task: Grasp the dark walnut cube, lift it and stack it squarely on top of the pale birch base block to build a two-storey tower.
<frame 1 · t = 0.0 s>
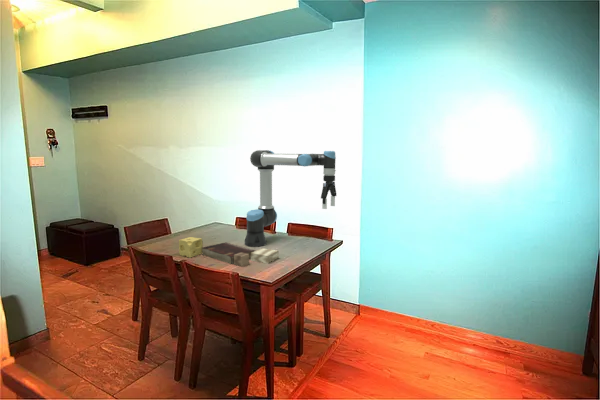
hand: (328, 207, 231), 28 cm above the table, fingers open, 13 cm apart
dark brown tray: (228, 256, 218), on the table
walnut cube: (241, 264, 202), on the table
cheese: (190, 254, 220), on the table
birch block: (264, 259, 211), on the table
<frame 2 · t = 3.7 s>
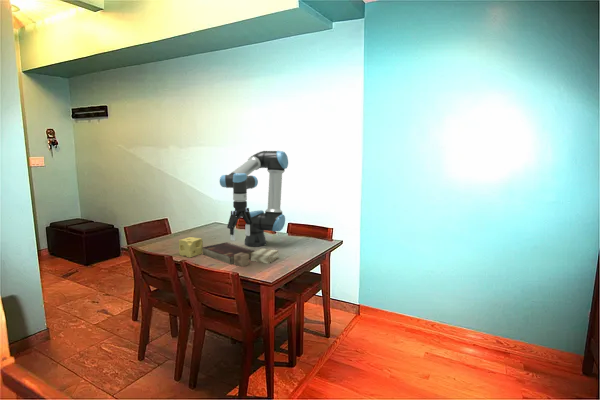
hand: (240, 237, 200), 15 cm above the table, fingers open, 13 cm apart
nothing on the table moved.
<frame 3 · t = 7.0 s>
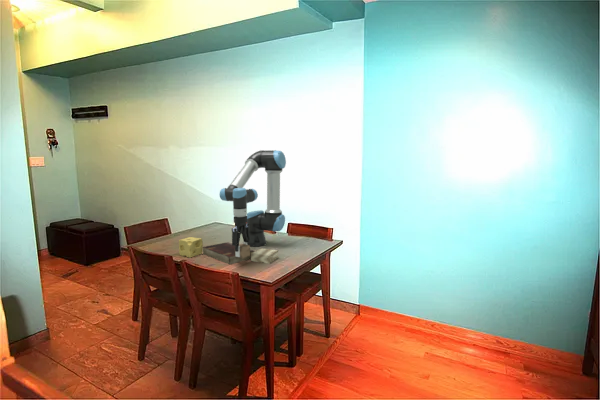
hand: (241, 254, 202), 5 cm above the table, fingers closed on walnut cube, 6 cm apart
walnut cube: (242, 255, 202), point 5 cm above the table, touching gripper
everything else where it was.
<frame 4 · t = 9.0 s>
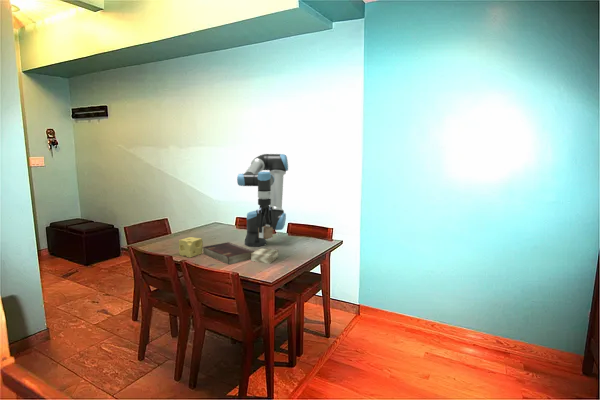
hand: (264, 236, 209), 14 cm above the table, fingers closed on walnut cube, 6 cm apart
walnut cube: (265, 237, 209), point 14 cm above the table, touching gripper
everything else where it was.
when the fingers open (5 cm above the table, at t = 11.2 s): walnut cube stays where it is, point 5 cm above the table.
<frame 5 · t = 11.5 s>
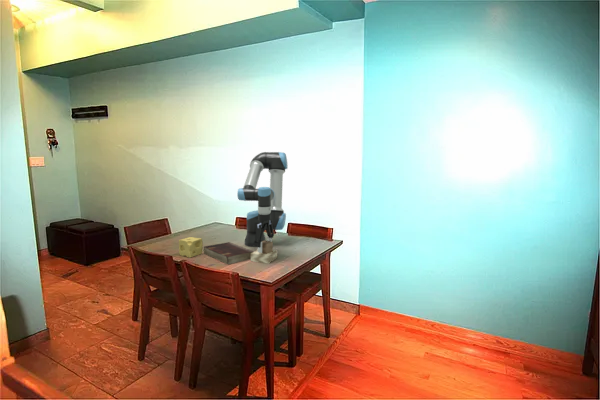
hand: (264, 250, 210), 6 cm above the table, fingers open, 9 cm apart
walnut cube: (265, 252, 210), point 5 cm above the table
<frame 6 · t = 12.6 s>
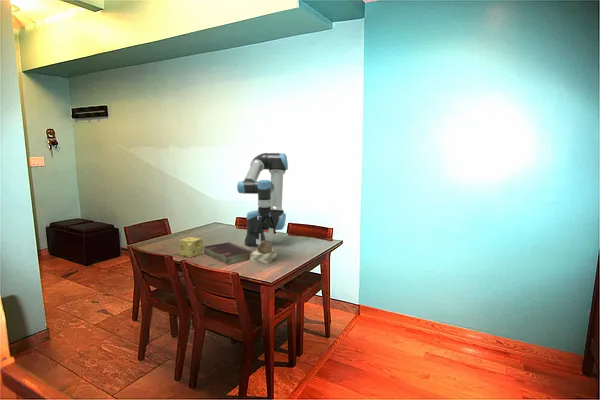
hand: (264, 241, 210), 11 cm above the table, fingers open, 13 cm apart
walnut cube: (264, 251, 210), point 5 cm above the table, touching birch block
birch block: (263, 260, 211), on the table, touching walnut cube
everything else where it was.
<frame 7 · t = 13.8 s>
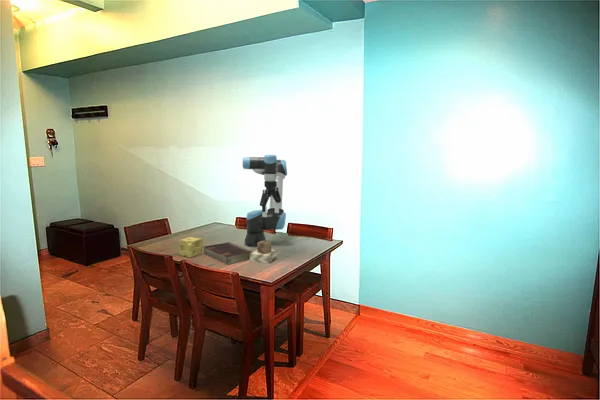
hand: (270, 214, 217), 25 cm above the table, fingers open, 13 cm apart
nothing on the table moved.
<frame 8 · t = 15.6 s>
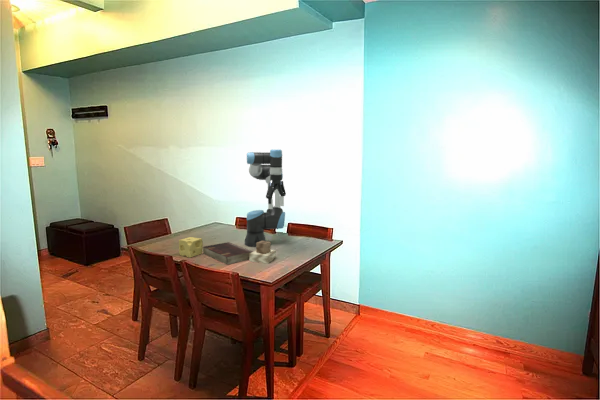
hand: (276, 207, 224), 29 cm above the table, fingers open, 13 cm apart
at the end: walnut cube inside the target area on the birch block (0.4 cm from its centre), point 5.0 cm above the birch block's base; walnut cube tilted 0°; the gripper is holding nothing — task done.
